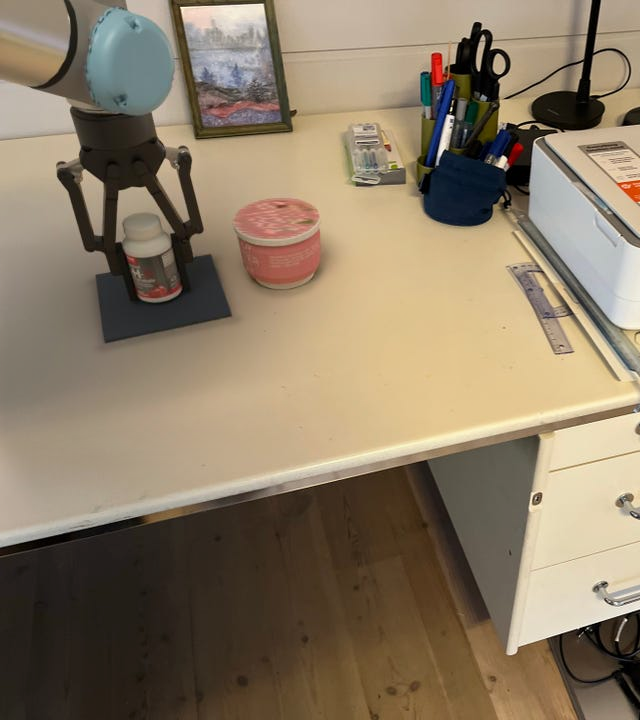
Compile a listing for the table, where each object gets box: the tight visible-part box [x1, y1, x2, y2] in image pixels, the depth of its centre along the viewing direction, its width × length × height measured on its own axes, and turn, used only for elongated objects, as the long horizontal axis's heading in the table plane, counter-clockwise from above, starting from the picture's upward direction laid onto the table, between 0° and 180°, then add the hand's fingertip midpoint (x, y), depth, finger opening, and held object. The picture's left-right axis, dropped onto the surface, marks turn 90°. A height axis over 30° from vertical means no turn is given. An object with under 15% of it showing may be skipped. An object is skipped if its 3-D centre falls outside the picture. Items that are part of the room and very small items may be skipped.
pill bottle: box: [121, 211, 183, 303], centre depth 88 cm, size 5×5×10 cm
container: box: [232, 197, 322, 290], centre depth 94 cm, size 10×10×8 cm
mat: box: [95, 253, 233, 344], centre depth 92 cm, size 14×14×1 cm
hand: (159, 289), depth 91 cm, fingers closed on pill bottle, 5 cm apart
